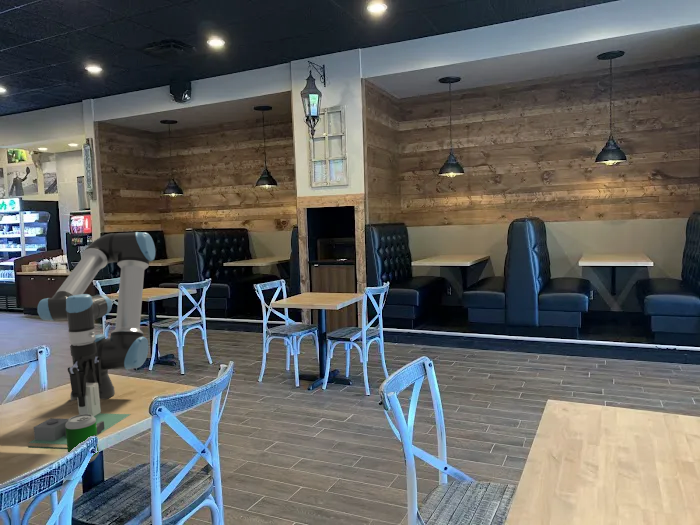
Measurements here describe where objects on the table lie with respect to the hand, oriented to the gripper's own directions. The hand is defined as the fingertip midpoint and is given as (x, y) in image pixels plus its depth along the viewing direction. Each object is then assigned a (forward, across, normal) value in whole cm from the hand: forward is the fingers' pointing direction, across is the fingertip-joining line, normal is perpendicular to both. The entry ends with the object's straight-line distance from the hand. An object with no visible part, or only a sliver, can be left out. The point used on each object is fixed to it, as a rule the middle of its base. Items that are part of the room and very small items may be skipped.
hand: (89, 412), depth 172 cm
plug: (+1, 0, 0) cm, 1 cm away
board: (+4, -7, -2) cm, 8 cm away
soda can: (+4, -25, -16) cm, 30 cm away
